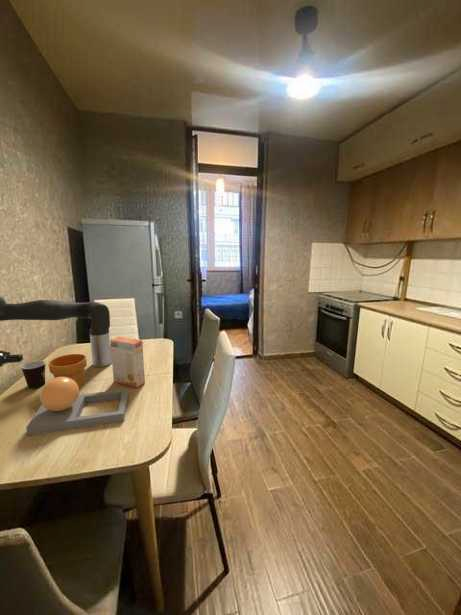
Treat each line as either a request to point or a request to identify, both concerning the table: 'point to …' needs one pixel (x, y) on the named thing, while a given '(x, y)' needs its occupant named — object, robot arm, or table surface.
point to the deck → (78, 414)
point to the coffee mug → (34, 374)
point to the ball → (59, 394)
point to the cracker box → (127, 361)
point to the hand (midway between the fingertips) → (21, 357)
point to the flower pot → (69, 367)
